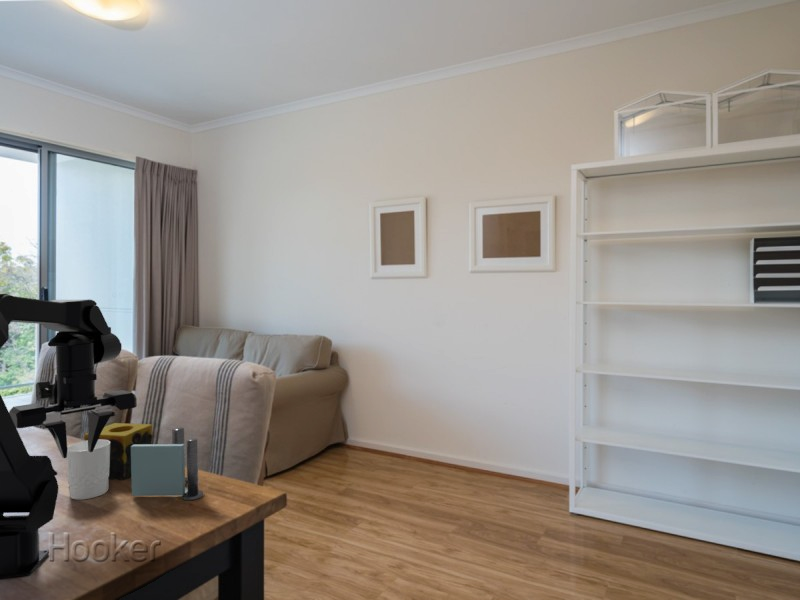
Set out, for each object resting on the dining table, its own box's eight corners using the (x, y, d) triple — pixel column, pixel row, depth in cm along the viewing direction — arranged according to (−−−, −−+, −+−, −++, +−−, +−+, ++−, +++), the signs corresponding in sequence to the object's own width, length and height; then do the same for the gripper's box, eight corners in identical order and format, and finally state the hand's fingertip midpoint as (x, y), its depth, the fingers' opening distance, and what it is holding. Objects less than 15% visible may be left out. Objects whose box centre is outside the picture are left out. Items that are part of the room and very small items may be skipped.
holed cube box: (82, 479, 111) (81, 434, 110) (114, 463, 121) (114, 422, 120) (124, 481, 109) (123, 436, 109) (153, 465, 119) (152, 423, 119)
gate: (185, 492, 101) (184, 444, 101) (182, 495, 100) (181, 445, 100) (134, 493, 101) (133, 444, 101) (131, 495, 100) (130, 446, 100)
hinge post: (201, 499, 99) (200, 442, 99) (180, 501, 98) (179, 443, 98) (205, 491, 103) (204, 436, 103) (184, 493, 102) (183, 437, 102)
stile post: (185, 483, 108) (184, 430, 107) (169, 484, 107) (168, 431, 107) (188, 478, 111) (187, 426, 110) (172, 479, 110) (172, 427, 110)
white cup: (90, 502, 98) (89, 452, 98) (56, 499, 100) (55, 450, 100) (120, 487, 106) (119, 440, 106) (88, 484, 108) (87, 438, 107)
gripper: (113, 359, 102) (115, 434, 103) (-1, 371, 88) (1, 459, 89) (137, 364, 95) (138, 445, 96) (16, 378, 81) (19, 473, 81)
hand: (77, 454), depth 91 cm, fingers open, 4 cm apart
